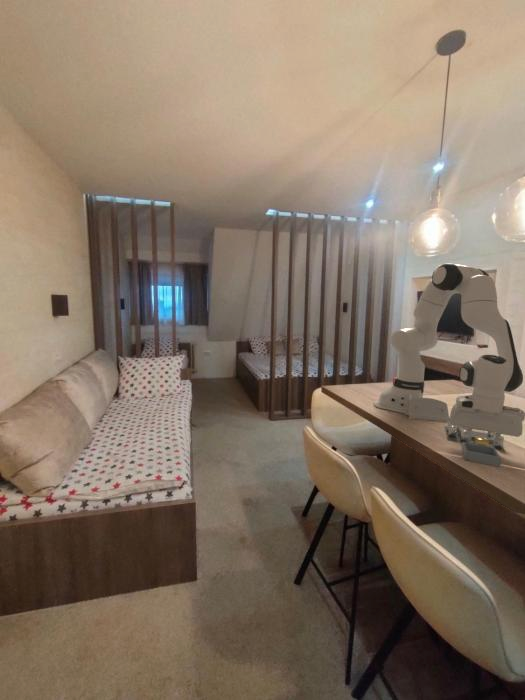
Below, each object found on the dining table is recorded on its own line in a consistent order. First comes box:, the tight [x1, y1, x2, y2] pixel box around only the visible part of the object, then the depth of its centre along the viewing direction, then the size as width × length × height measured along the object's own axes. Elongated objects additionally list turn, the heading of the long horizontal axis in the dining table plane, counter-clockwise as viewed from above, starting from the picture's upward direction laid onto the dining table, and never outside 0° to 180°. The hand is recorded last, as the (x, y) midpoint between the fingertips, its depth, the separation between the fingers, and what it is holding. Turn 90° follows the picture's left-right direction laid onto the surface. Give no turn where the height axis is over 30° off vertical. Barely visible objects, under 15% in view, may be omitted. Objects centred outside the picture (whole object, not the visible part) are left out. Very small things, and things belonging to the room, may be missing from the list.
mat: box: [444, 425, 506, 452], centre depth 117 cm, size 17×16×1 cm
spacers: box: [446, 421, 505, 449], centre depth 116 cm, size 16×14×4 cm
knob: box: [473, 436, 490, 447], centre depth 107 cm, size 4×4×3 cm
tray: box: [461, 442, 501, 468], centre depth 101 cm, size 9×8×3 cm
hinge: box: [406, 397, 450, 423], centre depth 138 cm, size 17×5×10 cm, turn 75°
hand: (481, 442), depth 107 cm, fingers closed on knob, 4 cm apart
